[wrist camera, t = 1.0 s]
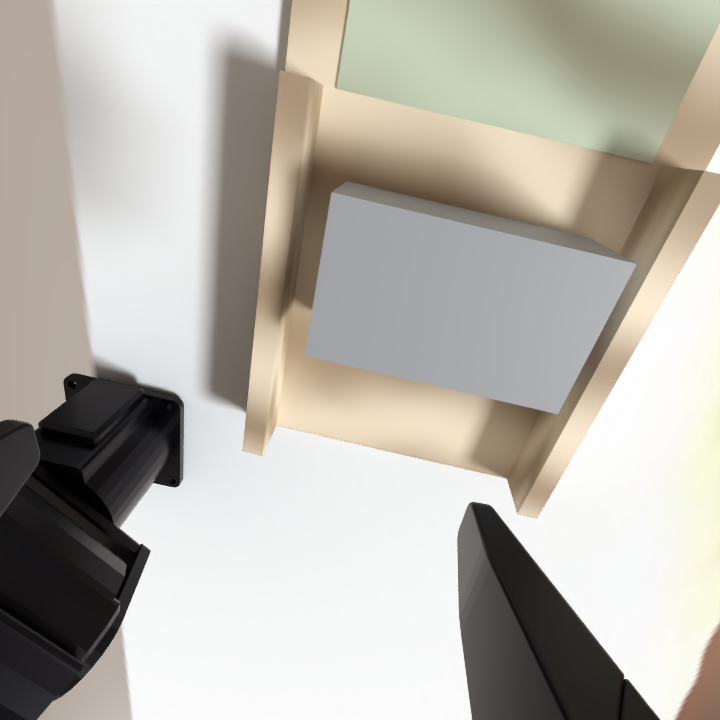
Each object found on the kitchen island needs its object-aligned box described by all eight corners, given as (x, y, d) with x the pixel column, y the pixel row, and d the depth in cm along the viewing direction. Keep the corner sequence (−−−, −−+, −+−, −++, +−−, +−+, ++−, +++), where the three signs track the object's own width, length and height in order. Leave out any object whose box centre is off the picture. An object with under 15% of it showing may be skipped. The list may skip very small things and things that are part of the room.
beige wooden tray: (531, 479, 24) (546, 520, 21) (251, 415, 24) (232, 448, 21) (851, -115, 13) (965, -180, 10) (320, -244, 12) (298, -343, 10)
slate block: (531, 365, 20) (558, 414, 16) (323, 317, 20) (304, 355, 16) (589, 238, 17) (637, 264, 14) (347, 181, 17) (331, 192, 14)
